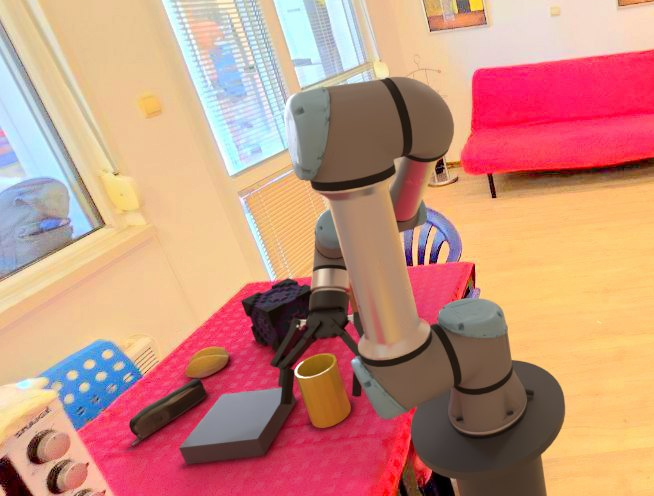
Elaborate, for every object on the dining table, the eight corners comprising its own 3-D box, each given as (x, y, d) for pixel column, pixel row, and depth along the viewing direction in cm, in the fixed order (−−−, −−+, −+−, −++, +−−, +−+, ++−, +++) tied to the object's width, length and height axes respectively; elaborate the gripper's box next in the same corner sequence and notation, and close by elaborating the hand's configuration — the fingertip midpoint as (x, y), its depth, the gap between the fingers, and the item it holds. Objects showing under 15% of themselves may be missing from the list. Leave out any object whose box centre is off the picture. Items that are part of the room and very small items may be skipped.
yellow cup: (355, 398, 108) (341, 351, 104) (343, 425, 101) (328, 375, 97) (319, 403, 108) (304, 355, 103) (305, 430, 101) (287, 380, 97)
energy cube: (282, 354, 125) (267, 312, 120) (255, 341, 131) (240, 300, 127) (327, 328, 134) (314, 287, 130) (300, 317, 140) (287, 278, 136)
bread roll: (184, 384, 117) (177, 370, 116) (194, 361, 125) (188, 348, 124) (225, 373, 120) (220, 358, 118) (233, 351, 128) (228, 337, 126)
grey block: (296, 401, 109) (291, 386, 107) (264, 455, 96) (257, 438, 94) (228, 409, 108) (221, 394, 107) (186, 464, 95) (178, 448, 94)
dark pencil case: (194, 375, 112) (115, 424, 99) (203, 377, 111) (125, 427, 98) (201, 394, 114) (125, 444, 101) (211, 396, 113) (135, 448, 100)
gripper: (395, 291, 113) (392, 394, 105) (279, 303, 113) (266, 408, 104) (383, 282, 107) (379, 391, 98) (259, 295, 106) (244, 406, 97)
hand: (321, 400), depth 101 cm, fingers open, 13 cm apart
